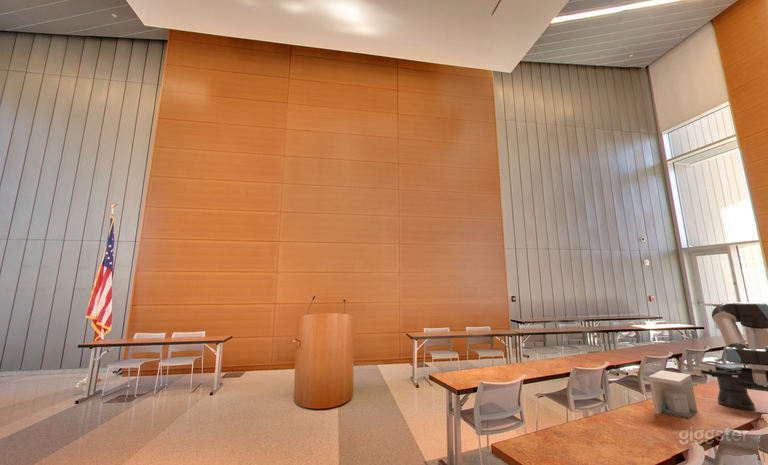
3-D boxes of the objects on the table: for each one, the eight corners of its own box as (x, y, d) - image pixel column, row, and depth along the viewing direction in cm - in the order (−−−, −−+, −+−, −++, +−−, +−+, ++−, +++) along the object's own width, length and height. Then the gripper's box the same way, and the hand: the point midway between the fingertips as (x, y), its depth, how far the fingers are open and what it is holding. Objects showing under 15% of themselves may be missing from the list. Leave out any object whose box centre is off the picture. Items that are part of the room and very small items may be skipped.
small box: (680, 410, 179) (677, 390, 181) (690, 413, 174) (686, 393, 176) (667, 410, 179) (663, 390, 181) (676, 413, 174) (672, 393, 176)
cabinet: (697, 411, 179) (690, 374, 182) (687, 421, 165) (679, 381, 169) (667, 404, 189) (661, 370, 193) (655, 413, 176) (648, 376, 180)
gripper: (752, 388, 148) (692, 379, 165) (759, 380, 162) (703, 371, 179) (748, 372, 150) (689, 364, 167) (755, 365, 164) (700, 358, 181)
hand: (696, 368), depth 173 cm, fingers open, 13 cm apart
